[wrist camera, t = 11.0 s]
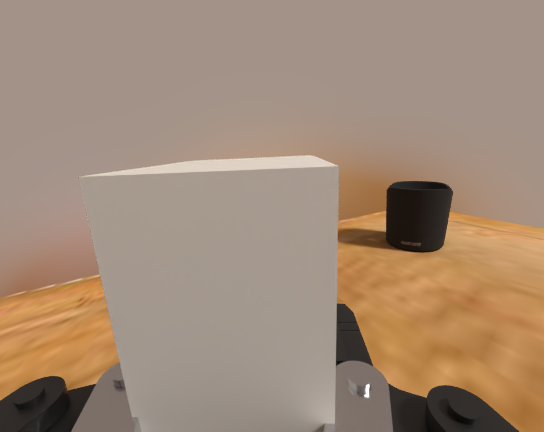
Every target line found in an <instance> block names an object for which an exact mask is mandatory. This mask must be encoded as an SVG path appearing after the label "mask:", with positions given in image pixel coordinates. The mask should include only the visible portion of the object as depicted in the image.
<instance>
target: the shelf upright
mask: <svg viewBox="0 0 544 432" xmlns="http://www.w3.org/2000/svg"><path fill="white" fill-rule="evenodd" d="M78 179H79V183H80V188H81V192H82V197H83V201H84V206H85V210H86V214H87V218H88V223H89V228H90V232H91V236H92V241H93V246H94V250H95V255H96V259H97V263H98V268H99V272H100V277H101V281H102V286H103V290H104V295H105V299H106V304H107V308H108V312H109V317H110V321H111V326H112V330H113V335H114V339H115V344H116V348H117V353H118V357H119V361H120V366H121V370H122V375H123V379H124V384H125V388H126V393H127V397H128V402H129V406H130V410H131V415H132V417H138V419H139V423H140V428H141V432H324V426H325V423H331V424H335V385H336V320H337V254H338V188H339V166H337V165H335V164H332V163H330V162H327V161H325V160H323V159H320V158H317V157H315V156H312V155H309V156H288V157H267V158H242V159H222V160H221V159H220V160H199V161H188V162H180V163H173V164H166V165H159V166H152V167H145V168H139V169H131V170H124V171H117V172H110V173H103V174H95V175H89V176H81V177H78Z"/></svg>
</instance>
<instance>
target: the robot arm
mask: <svg viewBox="0 0 544 432" xmlns="http://www.w3.org/2000/svg"><path fill="white" fill-rule="evenodd" d="M0 432H141V428H140V423H139V419H138V417H132V415H131V410H130V406H129V402H128V397H127V393H126V388H125V384H124V379H123V375H122V370H121V366H120V362H119V363H118V364H116V365H114V366H113V367H111V368H110V369H108V370H107V371H106V372H105V373H104V374H103V375H102V376H101V377H100V379H99V380H98V382H97V384H93V385H89V386H85V387H81V388H77V389H73V390H69V391H67V388H66V384H65V381H64V379H62V378H61V377H58V376H49V377H44V378H41V379H38V380H35V381H32V382H30V383H28V384H26V385H24V386H22V387H21V388H19V389H17V390H16V391H14V392H13V393H11V394H10V395H8V396H7V397H5V398H4V399H2V400H1V401H0ZM324 432H519V431H518V430H517V429H515V428H514V427H513V426H512V425H511V424H510V423H509V422H507V421H506V420H505V419H504V418H503V417H502V416H501V415H499V414H498V413H497V412H496V411H495V410H494V409H492V408H491V407H490V406H489V405H488V404H487V403H485V402H484V401H483V400H482V399H480V398H479V397H477V396H476V395H474V394H472V393H470V392H468V391H466V390H464V389H461V388H458V387H454V386H447V385H444V386H437V387H435V388H433V389H431V390H430V391H429V393H428V396H427V398H425V397H422V396H418V395H415V394H411V393H408V392H405V391H402V390H399V389H397V388H395V387H393V386H392V385H390V384H388V383H387V380H386V379H385V377H384V376H383V374H382V373H381V372H380V371H379V370H377V369H376V368H375V367H373V364H372V361H371V359H370V356H369V353H368V351H367V348H366V345H365V343H364V340H363V337H362V335H361V332H360V329H359V327H358V324H357V321H356V319H355V316H354V313H353V312H352V311H351V310H350V309H349V308H348V307H347V306H346V305H345V304H337V320H336V385H335V424H331V423H325V426H324Z"/></svg>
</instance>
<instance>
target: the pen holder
mask: <svg viewBox="0 0 544 432" xmlns="http://www.w3.org/2000/svg"><path fill="white" fill-rule="evenodd" d="M452 195H453V191H452V189H451V188H450V187H449V186H448V185H446V184H444V183H438V182H426V181H404V182H396V183H393V184H392V185H390V187H389V188H388V189H387V210H386V239H387V241H388V243H389V244H391V245H392V246H394V247H397V248H400V249H403V250H408V251H415V252H431V251H436V250H439V249H440V248H441V247H442V246H443V244H444V240H445V234H446V229H447V224H448V218H449V212H450V207H451V201H452Z"/></svg>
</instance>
